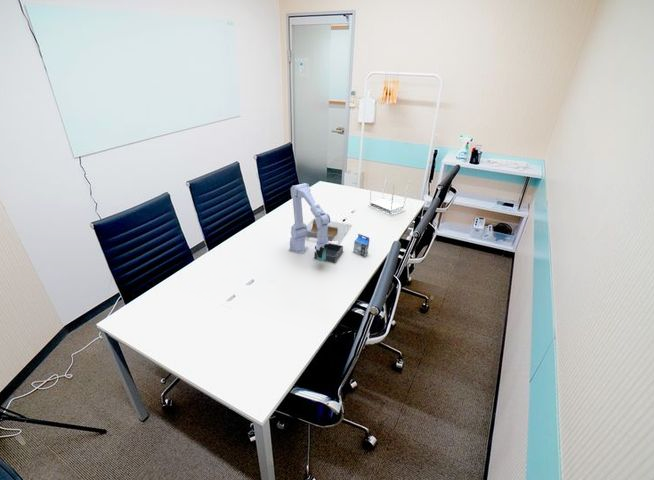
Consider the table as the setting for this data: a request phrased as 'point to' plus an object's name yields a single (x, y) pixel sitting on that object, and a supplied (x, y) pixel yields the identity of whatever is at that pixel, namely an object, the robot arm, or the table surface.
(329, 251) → the bin
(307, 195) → the robot arm
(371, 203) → the router
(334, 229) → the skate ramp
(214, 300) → the table surface
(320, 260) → the bottle
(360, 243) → the label tape box
